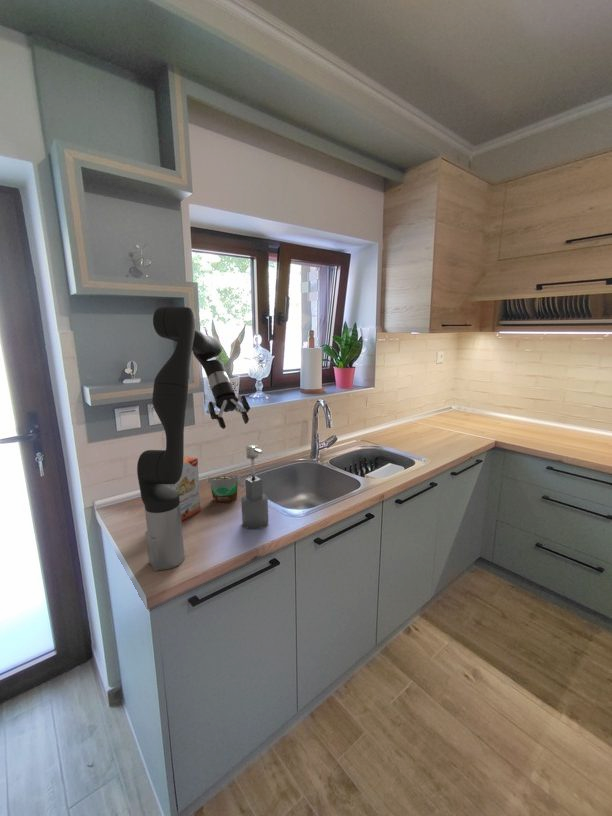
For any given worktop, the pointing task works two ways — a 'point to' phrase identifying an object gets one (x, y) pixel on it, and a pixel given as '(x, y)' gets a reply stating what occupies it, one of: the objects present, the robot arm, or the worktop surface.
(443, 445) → the worktop surface
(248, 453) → the pump head
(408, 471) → the worktop surface
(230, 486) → the food container
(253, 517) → the soap bottle
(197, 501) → the cracker box
